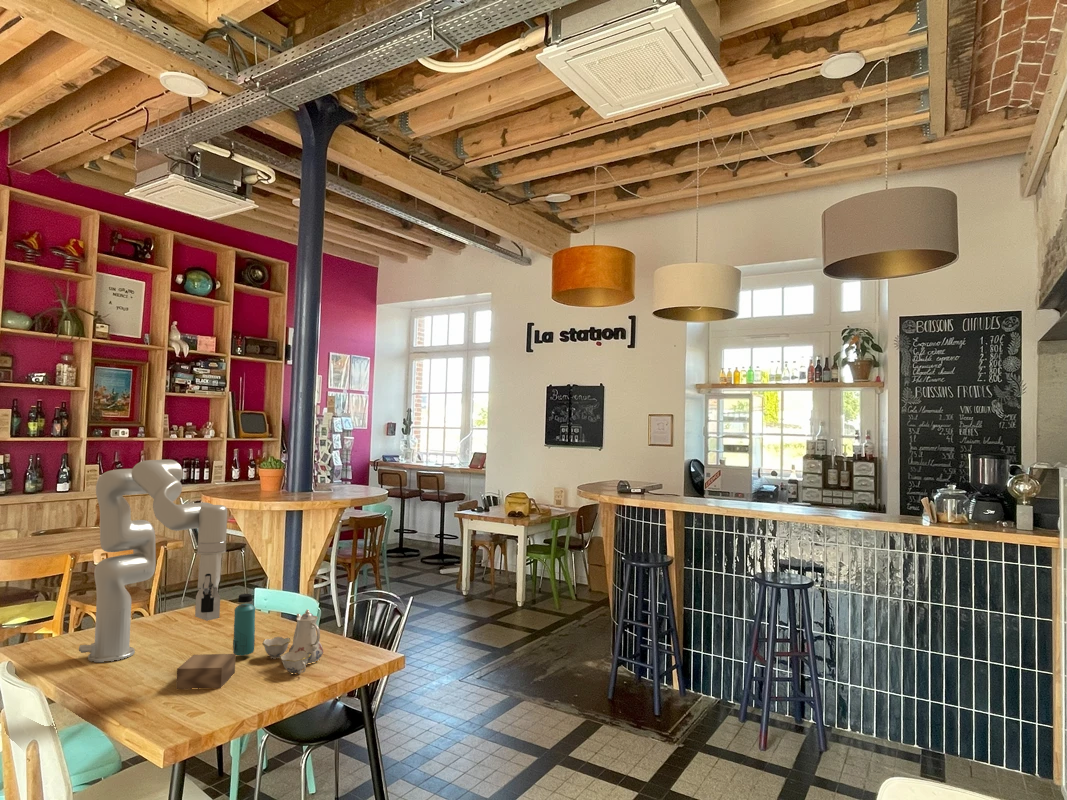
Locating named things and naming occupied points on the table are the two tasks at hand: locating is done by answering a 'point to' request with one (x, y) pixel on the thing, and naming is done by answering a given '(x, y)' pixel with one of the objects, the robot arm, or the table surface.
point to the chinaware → (298, 645)
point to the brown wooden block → (205, 671)
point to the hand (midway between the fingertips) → (209, 607)
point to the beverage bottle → (244, 626)
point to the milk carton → (208, 615)
